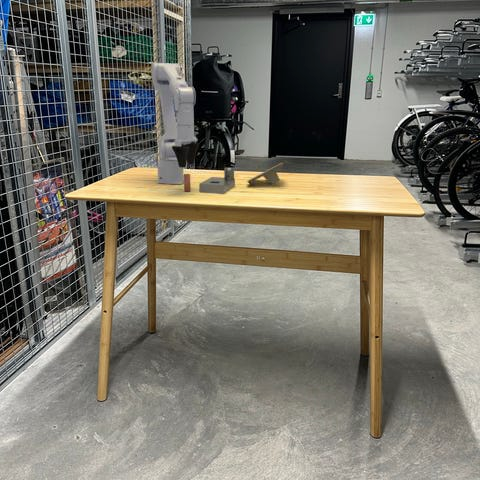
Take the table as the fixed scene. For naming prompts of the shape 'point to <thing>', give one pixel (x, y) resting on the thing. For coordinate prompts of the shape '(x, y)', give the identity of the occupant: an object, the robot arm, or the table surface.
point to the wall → (268, 175)
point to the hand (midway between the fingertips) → (186, 165)
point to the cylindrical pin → (187, 183)
